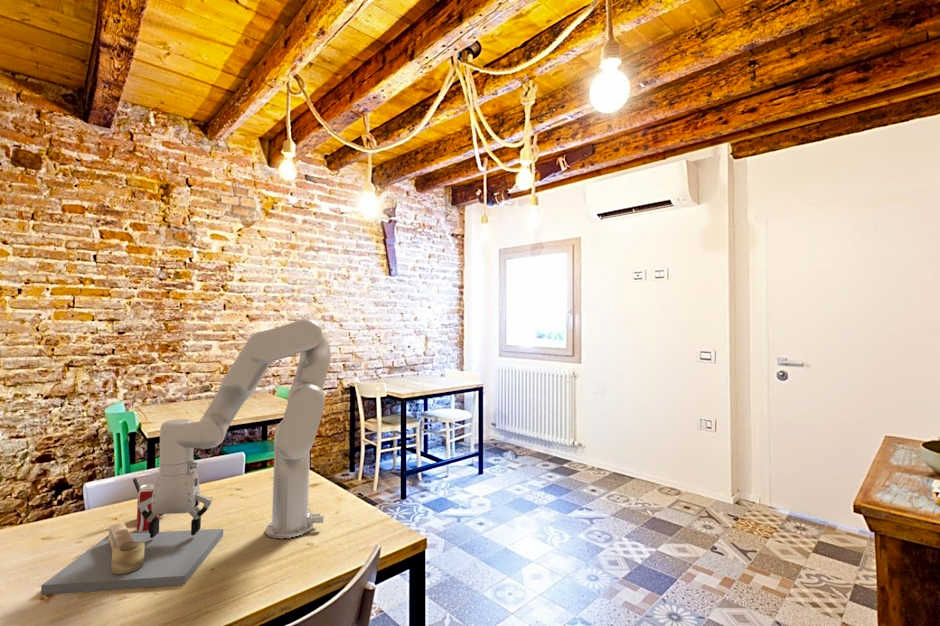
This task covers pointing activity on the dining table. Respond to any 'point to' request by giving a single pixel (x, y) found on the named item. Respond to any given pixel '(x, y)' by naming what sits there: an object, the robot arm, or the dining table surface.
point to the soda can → (143, 495)
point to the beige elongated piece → (124, 550)
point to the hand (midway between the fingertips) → (174, 534)
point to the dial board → (164, 565)
